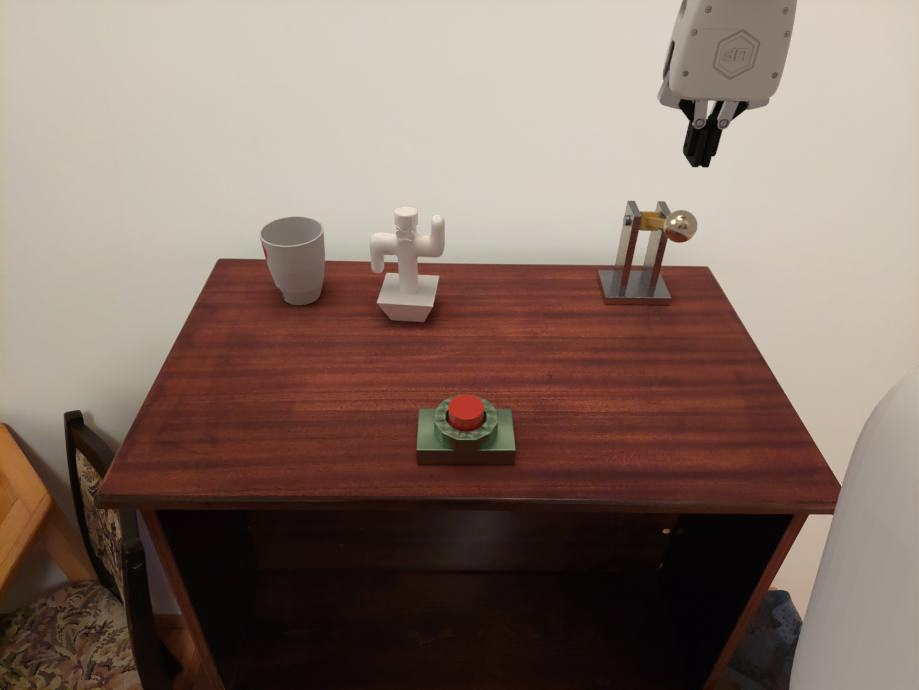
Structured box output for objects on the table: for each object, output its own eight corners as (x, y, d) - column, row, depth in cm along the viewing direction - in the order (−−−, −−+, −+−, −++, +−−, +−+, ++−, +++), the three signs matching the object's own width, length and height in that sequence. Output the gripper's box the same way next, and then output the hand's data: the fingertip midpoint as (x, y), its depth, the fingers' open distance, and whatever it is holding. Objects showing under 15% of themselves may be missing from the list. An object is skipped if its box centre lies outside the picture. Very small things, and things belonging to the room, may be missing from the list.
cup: (286, 276, 93) (275, 213, 87) (340, 282, 92) (332, 219, 86) (262, 307, 87) (248, 242, 81) (319, 315, 86) (309, 249, 80)
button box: (510, 421, 71) (512, 394, 68) (514, 466, 66) (517, 439, 63) (419, 420, 71) (418, 394, 68) (416, 466, 66) (415, 439, 63)
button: (482, 406, 67) (483, 394, 66) (484, 431, 65) (484, 419, 64) (448, 406, 67) (448, 394, 66) (448, 431, 65) (448, 419, 63)
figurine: (380, 294, 90) (372, 194, 80) (447, 298, 89) (447, 198, 80) (370, 325, 84) (360, 222, 75) (441, 330, 84) (441, 226, 74)
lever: (700, 244, 71) (704, 210, 70) (667, 243, 71) (670, 210, 70) (656, 234, 86) (658, 206, 86) (629, 233, 86) (631, 206, 86)
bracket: (669, 305, 89) (691, 221, 81) (604, 304, 89) (620, 220, 81) (657, 277, 94) (677, 196, 86) (596, 276, 94) (610, 195, 86)
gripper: (673, -34, 53) (632, 176, 64) (854, -31, 53) (781, 178, 65) (652, -48, 59) (618, 147, 70) (815, -45, 59) (754, 149, 70)
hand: (696, 161), depth 67 cm, fingers closed
